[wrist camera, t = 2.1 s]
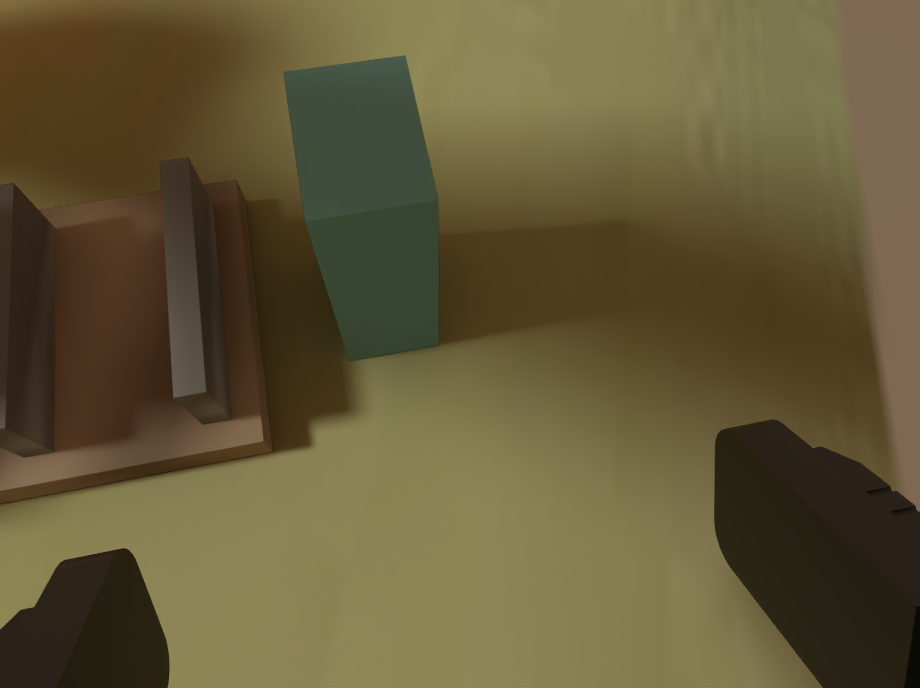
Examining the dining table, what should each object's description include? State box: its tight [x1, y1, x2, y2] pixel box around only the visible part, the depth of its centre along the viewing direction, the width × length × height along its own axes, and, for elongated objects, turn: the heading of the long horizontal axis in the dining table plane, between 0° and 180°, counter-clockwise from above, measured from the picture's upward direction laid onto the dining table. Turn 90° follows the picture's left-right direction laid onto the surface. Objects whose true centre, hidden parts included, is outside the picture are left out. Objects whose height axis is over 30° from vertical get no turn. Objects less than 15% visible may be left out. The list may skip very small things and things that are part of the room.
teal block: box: [283, 56, 439, 361], centre depth 24 cm, size 4×5×10 cm
